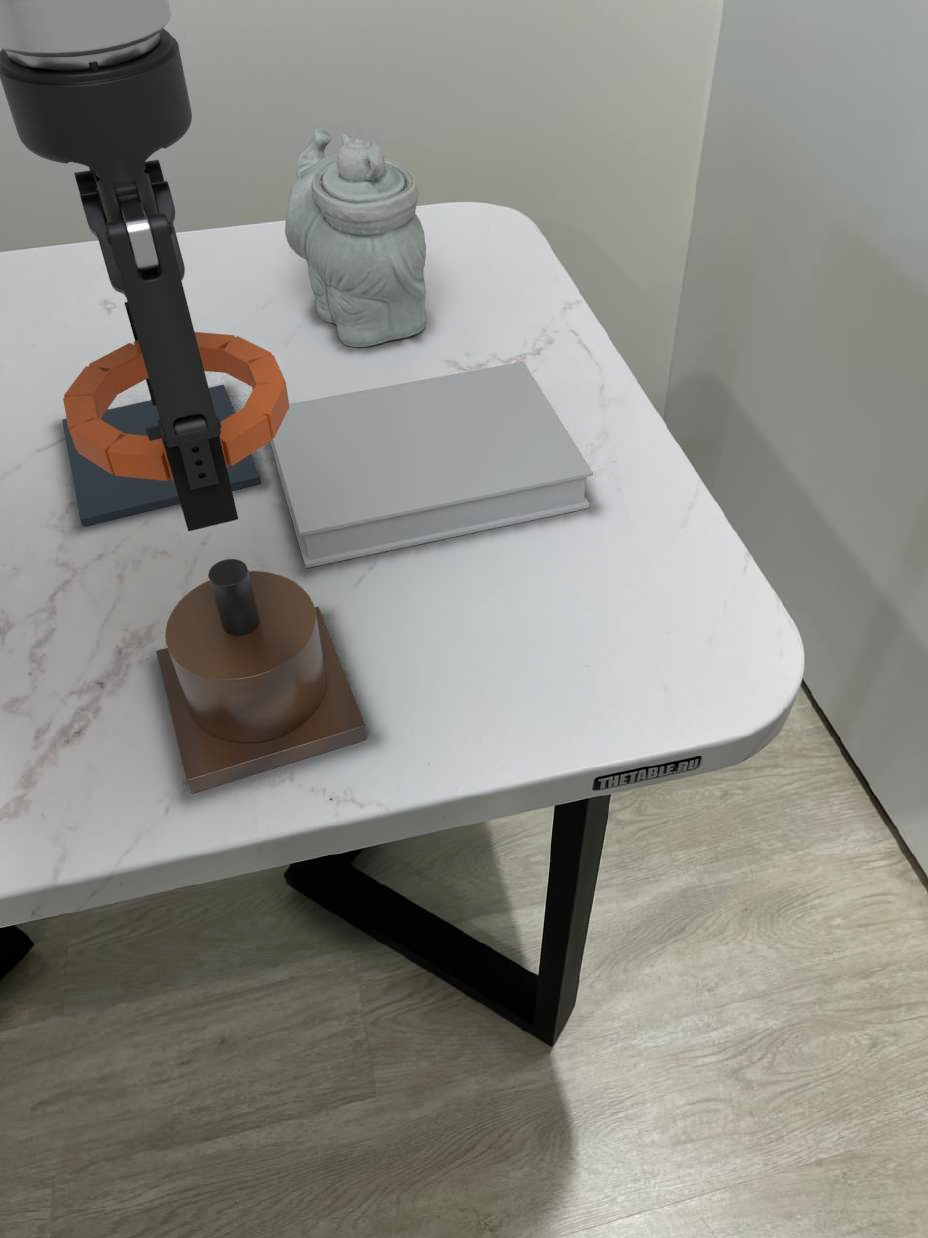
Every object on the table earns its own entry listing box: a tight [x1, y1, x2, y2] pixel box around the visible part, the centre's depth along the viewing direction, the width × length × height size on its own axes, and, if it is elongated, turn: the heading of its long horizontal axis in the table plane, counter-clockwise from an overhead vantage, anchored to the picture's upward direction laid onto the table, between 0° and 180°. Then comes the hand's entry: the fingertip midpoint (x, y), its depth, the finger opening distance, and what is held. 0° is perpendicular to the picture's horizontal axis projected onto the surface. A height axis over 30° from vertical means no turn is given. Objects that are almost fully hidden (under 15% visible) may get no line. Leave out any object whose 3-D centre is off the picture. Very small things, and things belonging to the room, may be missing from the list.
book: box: [269, 361, 594, 569], centre depth 87 cm, size 18×4×24 cm
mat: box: [61, 384, 262, 527], centre depth 90 cm, size 15×15×1 cm
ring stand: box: [155, 558, 368, 794], centre depth 66 cm, size 12×12×12 cm
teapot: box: [284, 127, 427, 348], centre depth 100 cm, size 16×15×19 cm
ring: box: [62, 331, 290, 481], centre depth 56 cm, size 12×12×2 cm
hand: (192, 455), depth 58 cm, fingers closed on ring, 12 cm apart
